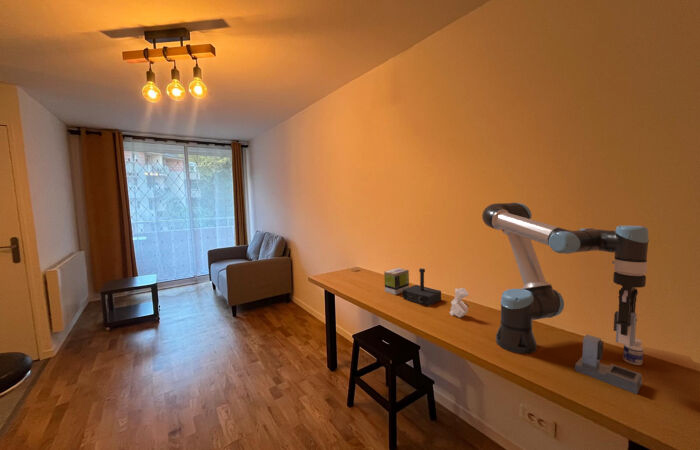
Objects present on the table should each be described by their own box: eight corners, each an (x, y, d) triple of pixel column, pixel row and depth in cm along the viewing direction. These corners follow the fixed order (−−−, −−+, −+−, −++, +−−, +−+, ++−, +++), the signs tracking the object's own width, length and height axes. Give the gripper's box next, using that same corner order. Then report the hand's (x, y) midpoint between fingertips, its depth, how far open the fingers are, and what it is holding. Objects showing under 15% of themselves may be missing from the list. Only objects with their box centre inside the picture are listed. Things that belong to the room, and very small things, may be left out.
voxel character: (449, 300, 161) (462, 283, 152) (463, 318, 153) (478, 301, 145) (440, 302, 157) (454, 286, 148) (454, 321, 150) (469, 304, 141)
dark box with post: (400, 299, 178) (400, 269, 177) (416, 293, 190) (415, 264, 188) (427, 307, 164) (427, 274, 163) (441, 300, 175) (441, 269, 174)
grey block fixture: (574, 370, 102) (576, 337, 101) (581, 363, 106) (583, 331, 105) (637, 394, 89) (639, 357, 88) (641, 384, 94) (644, 349, 93)
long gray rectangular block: (612, 340, 95) (614, 312, 94) (615, 337, 97) (616, 309, 96) (632, 346, 91) (634, 316, 90) (634, 342, 93) (636, 313, 92)
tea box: (398, 287, 204) (398, 267, 203) (409, 290, 196) (409, 269, 195) (384, 291, 194) (384, 271, 193) (395, 295, 187) (395, 273, 185)
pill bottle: (622, 356, 111) (623, 334, 110) (641, 360, 107) (642, 338, 106) (623, 362, 106) (625, 339, 106) (643, 367, 103) (645, 344, 102)
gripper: (619, 266, 100) (615, 329, 102) (607, 275, 89) (603, 345, 91) (650, 270, 94) (645, 337, 96) (641, 280, 83) (636, 355, 85)
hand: (625, 341), depth 94 cm, fingers closed on long gray rectangular block, 4 cm apart
